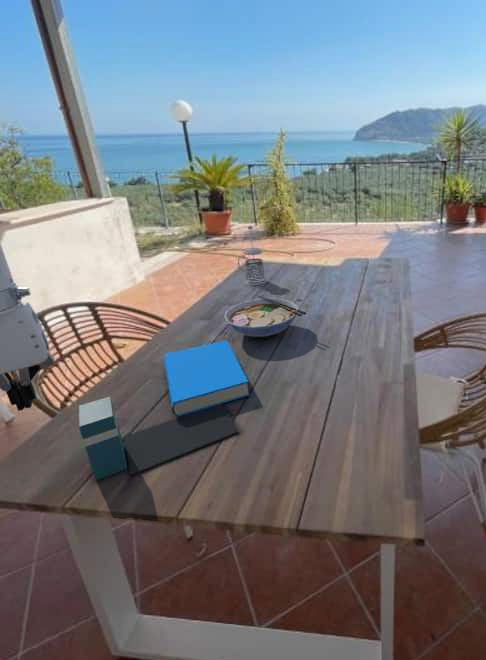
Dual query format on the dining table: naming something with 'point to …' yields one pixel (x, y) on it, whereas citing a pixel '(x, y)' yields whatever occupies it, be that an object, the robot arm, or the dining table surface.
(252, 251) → the french press
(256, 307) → the ramen bowl
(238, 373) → the book
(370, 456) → the dining table surface
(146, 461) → the mat
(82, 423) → the carton
